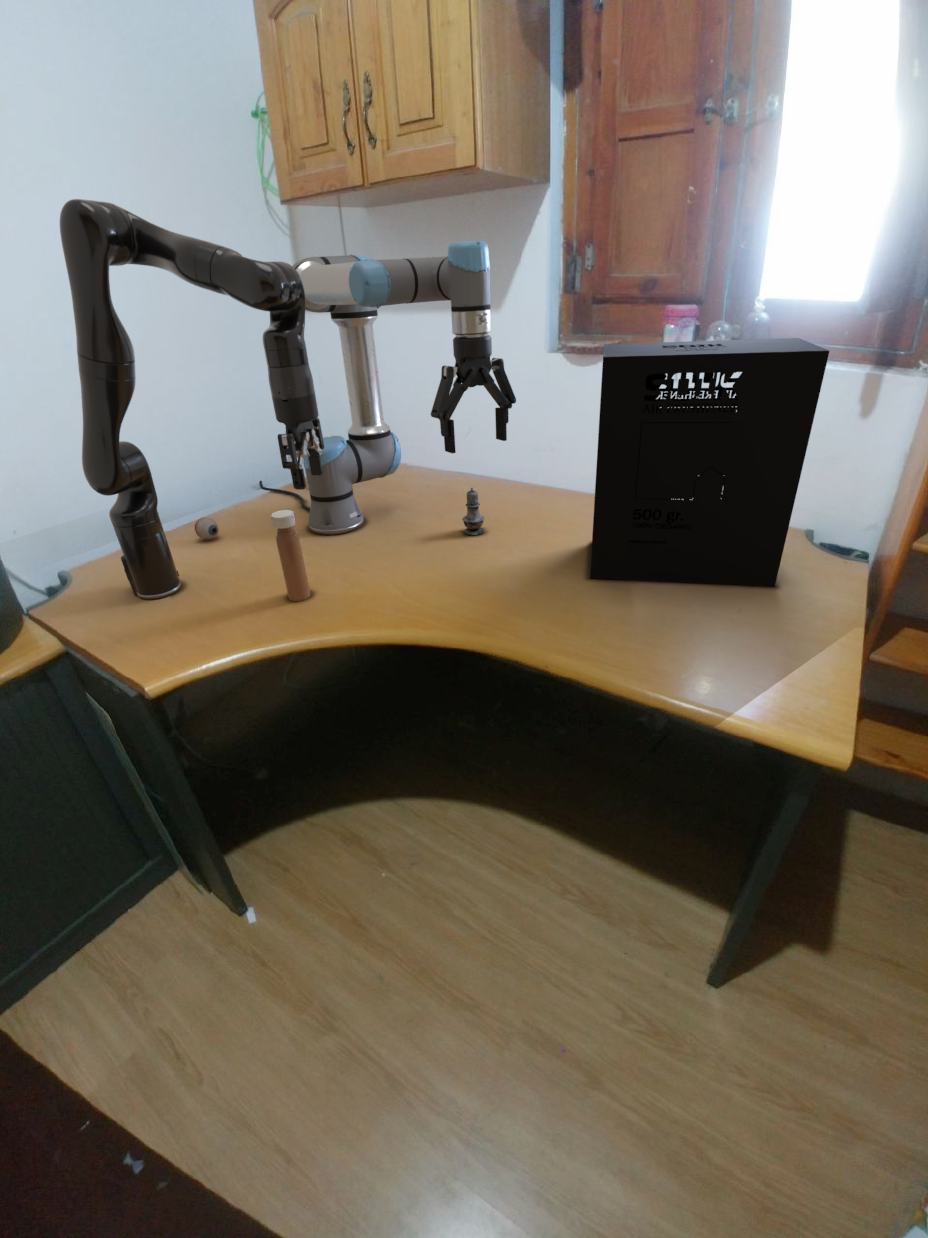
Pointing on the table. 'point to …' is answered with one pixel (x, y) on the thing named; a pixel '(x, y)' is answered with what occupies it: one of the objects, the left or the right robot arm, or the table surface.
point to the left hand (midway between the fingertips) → (309, 481)
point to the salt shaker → (473, 515)
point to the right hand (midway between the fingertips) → (476, 445)
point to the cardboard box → (701, 458)
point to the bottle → (292, 564)
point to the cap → (283, 519)
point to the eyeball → (206, 528)
